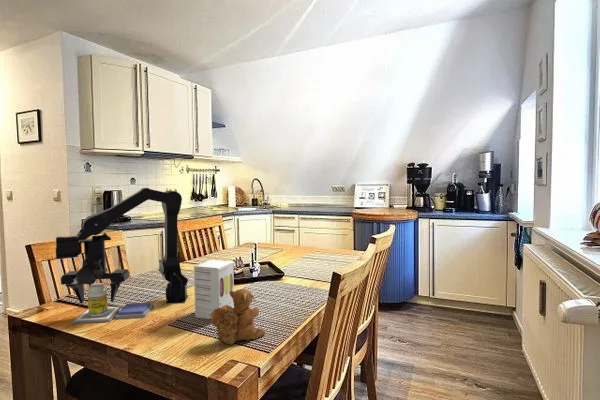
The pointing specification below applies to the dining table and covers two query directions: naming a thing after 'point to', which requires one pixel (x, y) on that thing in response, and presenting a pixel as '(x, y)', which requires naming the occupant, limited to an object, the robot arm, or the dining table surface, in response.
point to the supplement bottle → (97, 300)
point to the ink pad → (134, 310)
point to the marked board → (104, 318)
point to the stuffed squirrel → (236, 318)
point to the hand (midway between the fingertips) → (97, 302)
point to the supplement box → (212, 286)
